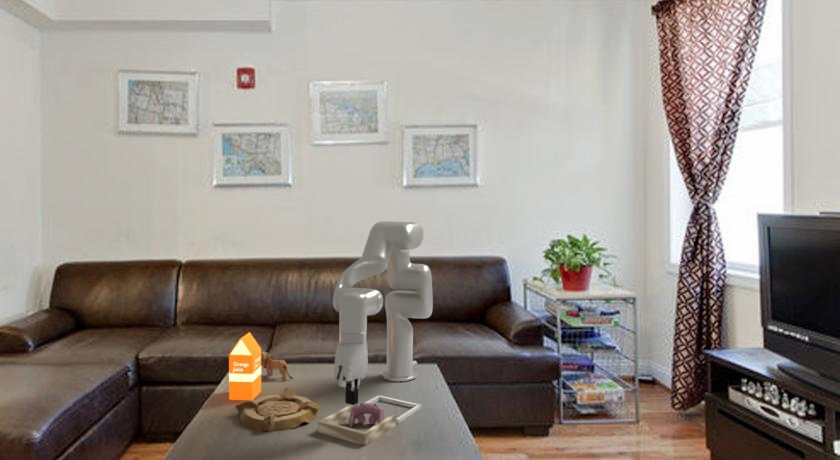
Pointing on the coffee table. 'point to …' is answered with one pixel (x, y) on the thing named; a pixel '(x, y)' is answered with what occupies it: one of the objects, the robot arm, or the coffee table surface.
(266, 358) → the lion figurine
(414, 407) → the white bay
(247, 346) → the orange juice
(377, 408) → the video game controller
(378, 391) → the coffee table surface
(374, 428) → the wooden u-shaped frame
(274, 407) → the ashtray
